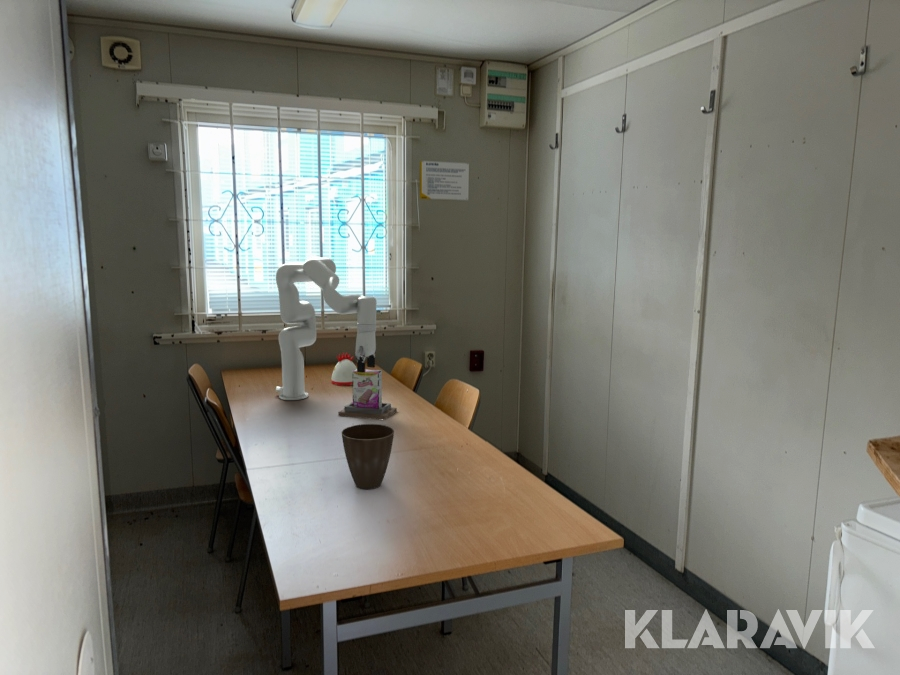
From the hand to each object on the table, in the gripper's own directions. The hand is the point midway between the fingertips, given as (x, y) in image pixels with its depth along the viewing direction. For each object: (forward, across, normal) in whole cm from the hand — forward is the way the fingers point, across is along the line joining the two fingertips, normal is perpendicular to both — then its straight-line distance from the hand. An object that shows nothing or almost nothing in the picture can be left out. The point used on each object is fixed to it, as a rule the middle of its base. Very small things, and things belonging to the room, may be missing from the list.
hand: (366, 369), depth 249 cm
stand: (+18, 0, +1) cm, 18 cm away
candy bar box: (+17, 0, +1) cm, 17 cm away
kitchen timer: (+20, -48, -32) cm, 61 cm away
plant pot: (+17, +68, +31) cm, 77 cm away
